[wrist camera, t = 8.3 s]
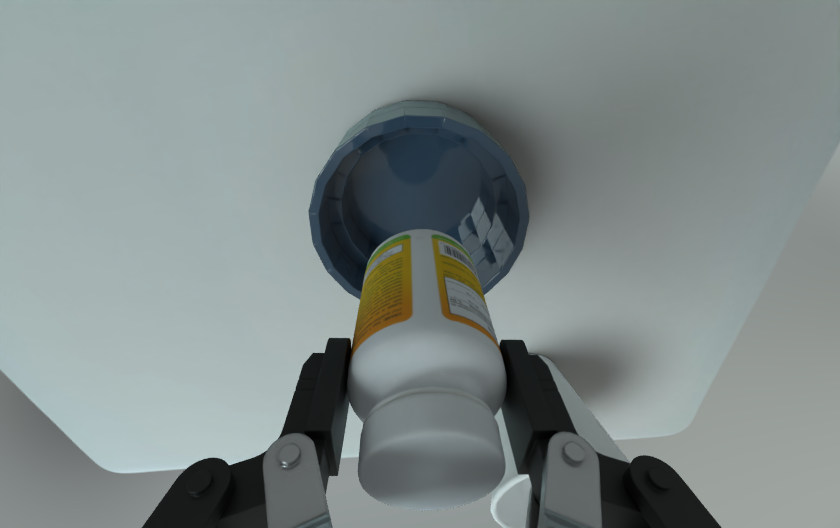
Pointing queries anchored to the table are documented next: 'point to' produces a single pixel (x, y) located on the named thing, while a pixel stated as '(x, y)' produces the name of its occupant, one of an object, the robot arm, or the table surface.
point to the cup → (515, 488)
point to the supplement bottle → (426, 376)
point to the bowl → (418, 191)
